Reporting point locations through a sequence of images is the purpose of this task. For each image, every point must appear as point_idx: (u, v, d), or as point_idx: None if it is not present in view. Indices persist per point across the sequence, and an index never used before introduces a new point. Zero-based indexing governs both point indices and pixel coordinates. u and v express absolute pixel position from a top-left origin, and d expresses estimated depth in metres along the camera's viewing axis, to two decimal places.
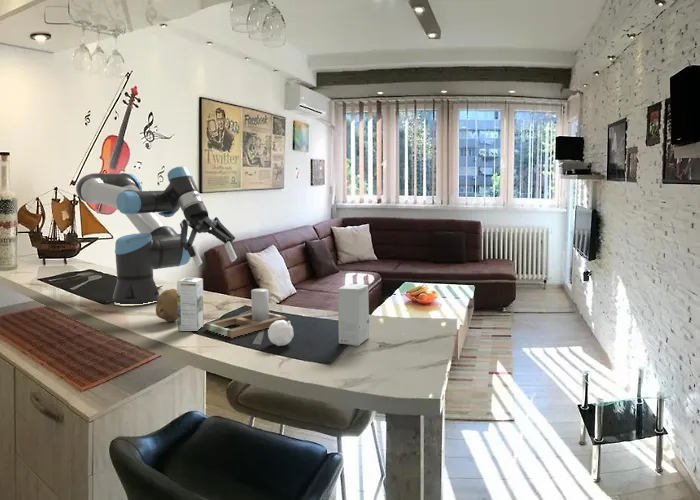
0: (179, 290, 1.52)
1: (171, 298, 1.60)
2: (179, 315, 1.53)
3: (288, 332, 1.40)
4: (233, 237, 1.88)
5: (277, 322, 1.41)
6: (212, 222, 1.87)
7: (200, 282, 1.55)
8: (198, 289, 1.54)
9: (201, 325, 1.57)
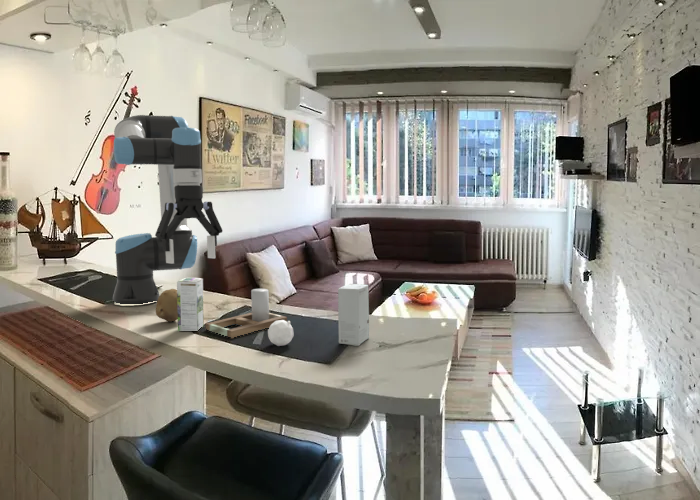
0: (179, 290, 1.52)
1: (171, 298, 1.60)
2: (179, 315, 1.53)
3: (288, 332, 1.40)
4: (220, 231, 1.60)
5: (277, 322, 1.40)
6: (203, 206, 1.57)
7: (200, 282, 1.55)
8: (198, 289, 1.54)
9: (201, 325, 1.57)
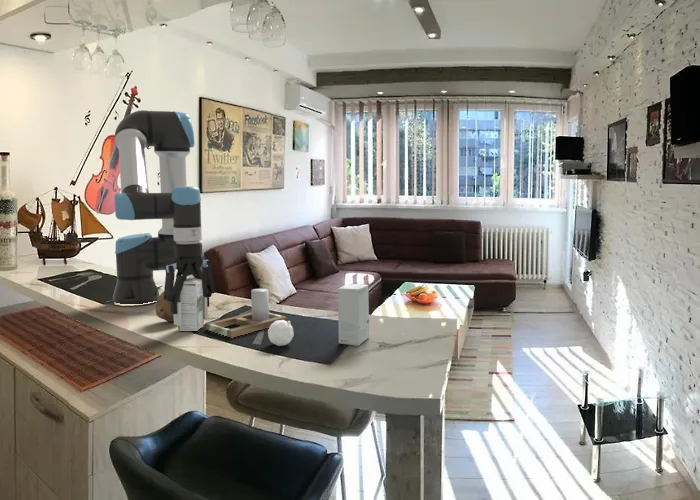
0: None
1: None
2: None
3: (288, 332, 1.40)
4: (213, 291, 1.59)
5: (277, 322, 1.41)
6: (202, 264, 1.57)
7: (200, 282, 1.55)
8: (198, 289, 1.54)
9: (201, 325, 1.57)
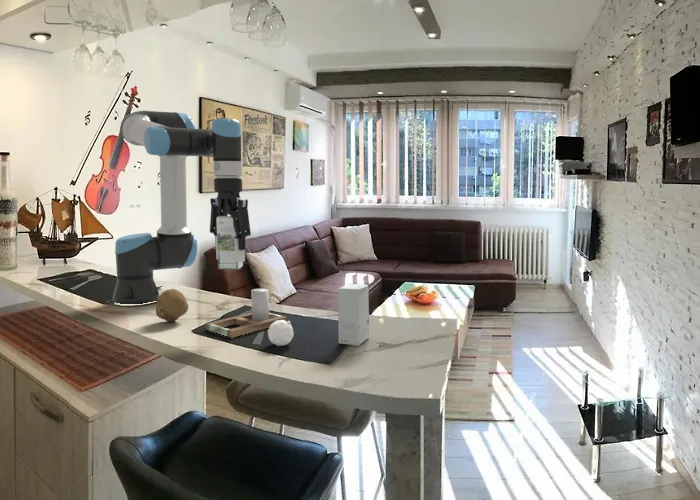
0: None
1: (171, 298, 1.60)
2: None
3: (288, 332, 1.40)
4: (241, 234, 1.46)
5: (277, 322, 1.41)
6: (238, 202, 1.47)
7: (226, 220, 1.48)
8: (221, 226, 1.48)
9: (230, 266, 1.50)
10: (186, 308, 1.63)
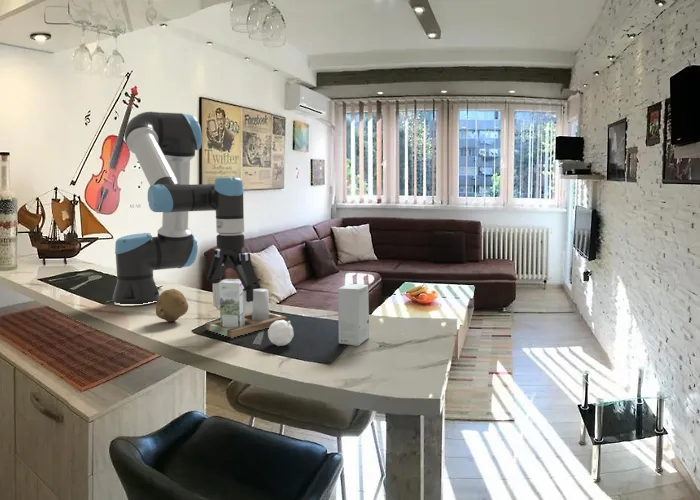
0: None
1: (171, 298, 1.60)
2: None
3: (288, 332, 1.40)
4: (249, 286, 1.46)
5: (277, 322, 1.41)
6: None
7: (229, 285, 1.50)
8: (224, 291, 1.51)
9: None
10: (186, 308, 1.63)
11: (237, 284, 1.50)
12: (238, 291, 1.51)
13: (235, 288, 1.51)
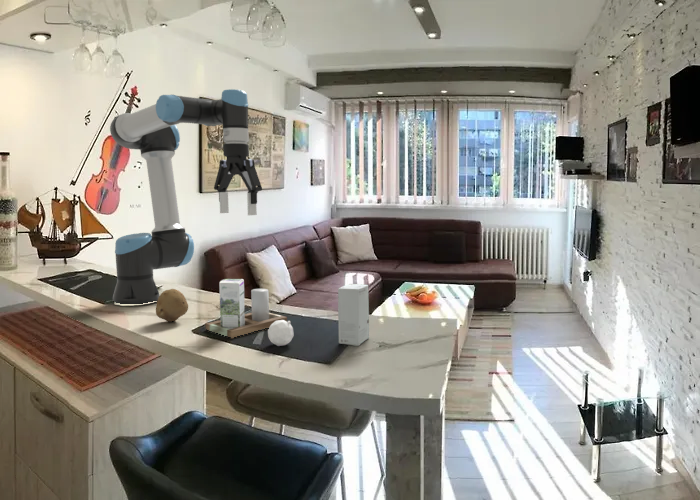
0: None
1: (171, 298, 1.60)
2: None
3: (288, 332, 1.40)
4: (253, 188, 1.60)
5: (277, 322, 1.41)
6: None
7: (229, 285, 1.50)
8: (224, 291, 1.51)
9: None
10: (186, 308, 1.63)
11: (237, 284, 1.50)
12: (238, 291, 1.51)
13: (235, 288, 1.51)
